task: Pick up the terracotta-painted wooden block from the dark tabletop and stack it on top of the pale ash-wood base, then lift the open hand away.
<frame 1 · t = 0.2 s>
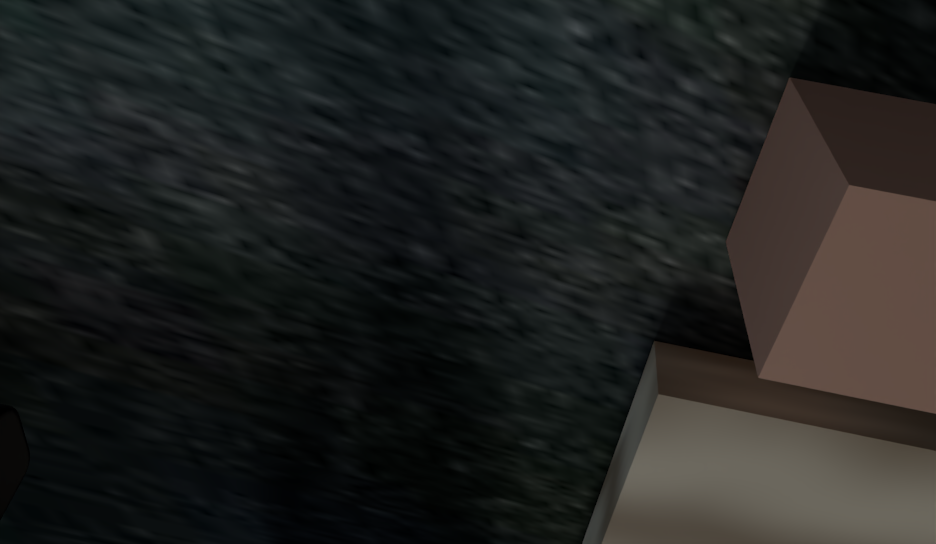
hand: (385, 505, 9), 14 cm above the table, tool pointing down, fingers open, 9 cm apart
terracotta block: (847, 181, 21), on the table
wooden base: (783, 512, 28), on the table
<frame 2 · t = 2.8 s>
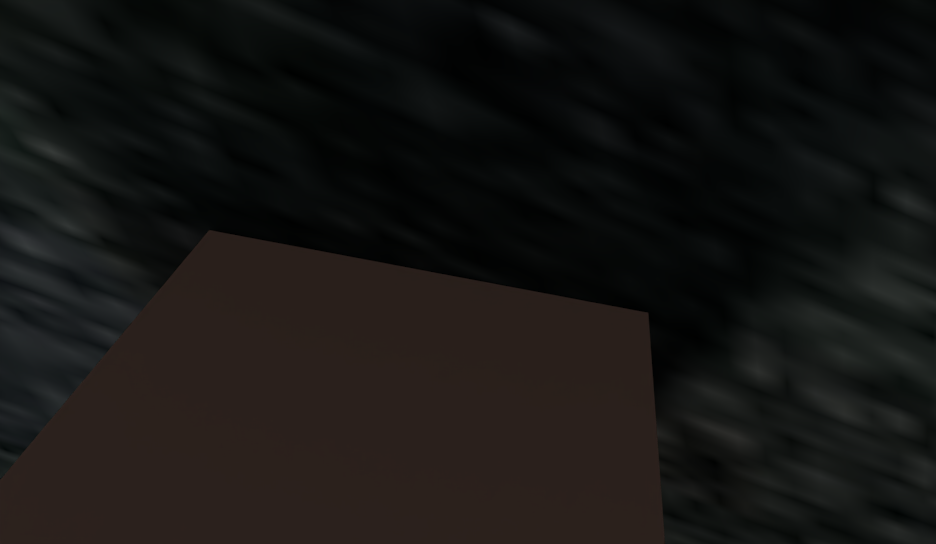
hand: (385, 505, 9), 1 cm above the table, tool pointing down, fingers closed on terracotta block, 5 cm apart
terracotta block: (407, 428, 10), on the table, touching gripper
when the fingers open (5 cm above the table, at t = 7.0 s): terracotta block drops 1 cm, resting on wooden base.
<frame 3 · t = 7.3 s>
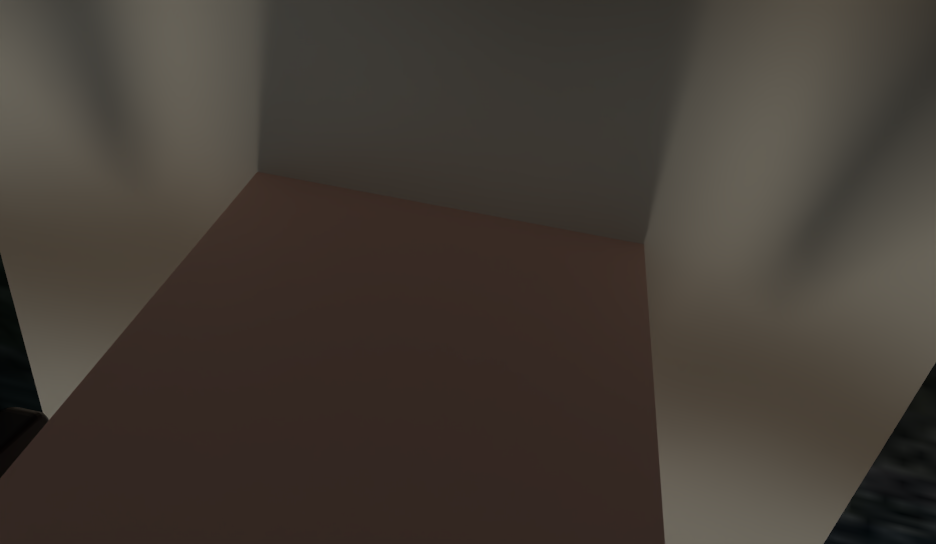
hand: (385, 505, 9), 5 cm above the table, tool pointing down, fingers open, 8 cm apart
terracotta block: (428, 355, 11), point 2 cm above the table, touching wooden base
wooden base: (458, 263, 13), on the table
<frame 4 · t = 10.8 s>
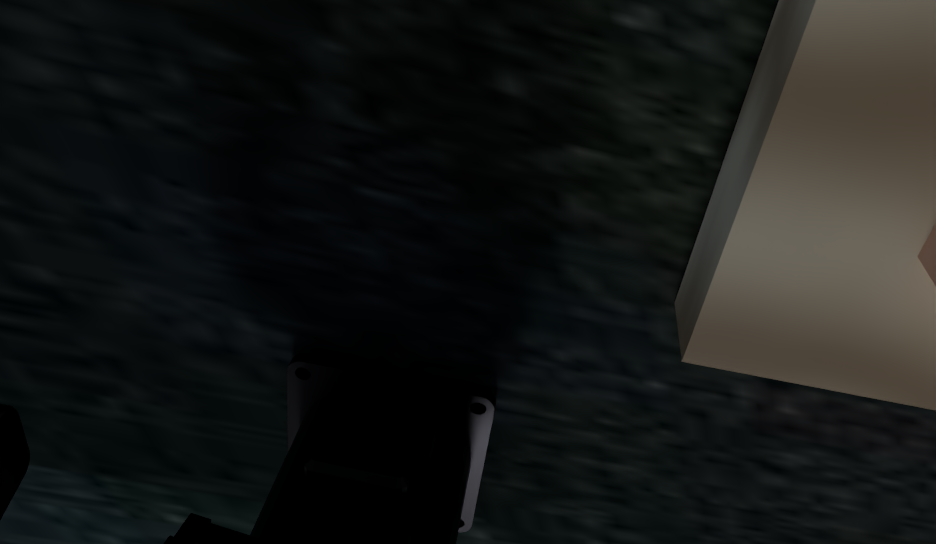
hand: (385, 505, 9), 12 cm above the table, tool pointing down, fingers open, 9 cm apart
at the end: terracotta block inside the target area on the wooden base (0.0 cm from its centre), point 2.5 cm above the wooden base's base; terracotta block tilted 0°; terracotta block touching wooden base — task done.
